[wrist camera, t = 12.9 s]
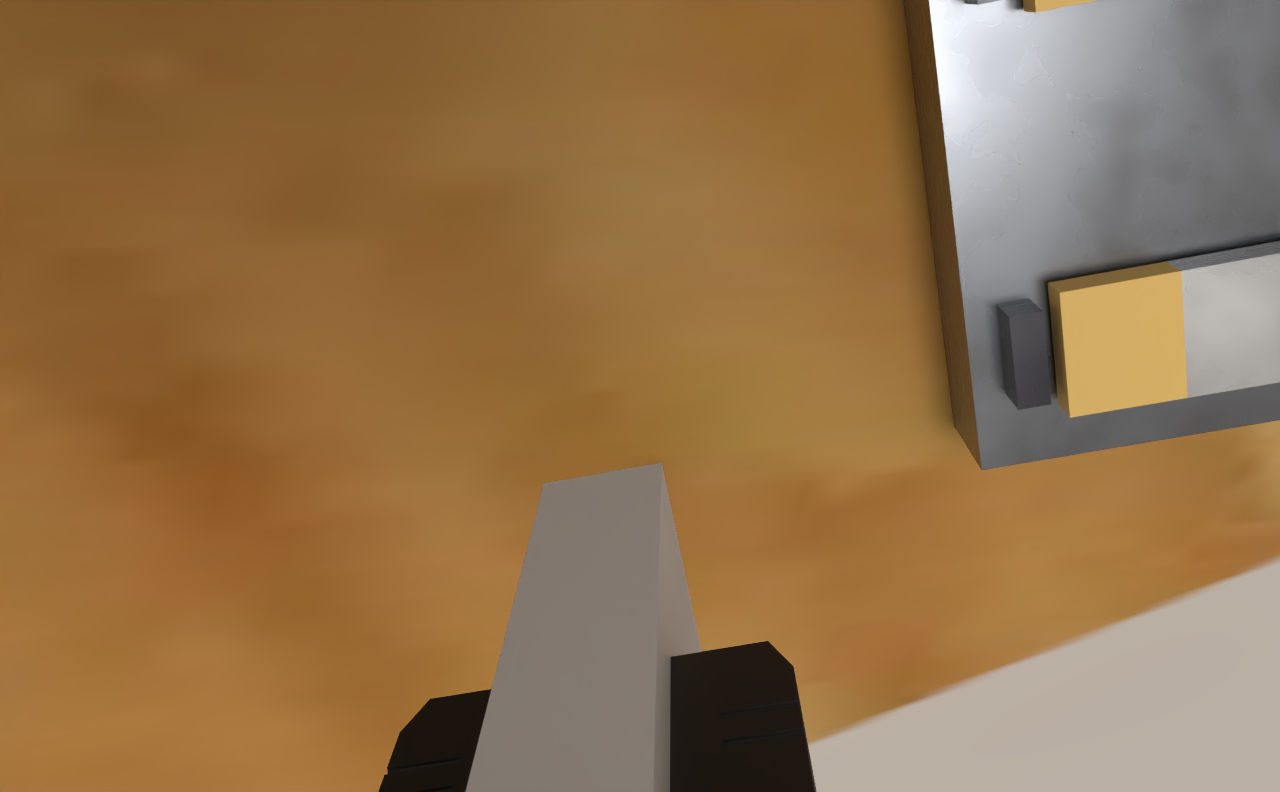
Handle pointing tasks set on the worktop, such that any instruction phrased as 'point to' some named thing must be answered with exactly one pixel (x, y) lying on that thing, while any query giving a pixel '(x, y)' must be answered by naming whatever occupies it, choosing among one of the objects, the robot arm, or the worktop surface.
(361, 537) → the worktop surface
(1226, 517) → the worktop surface
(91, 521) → the worktop surface
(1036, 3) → the strap
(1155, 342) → the strap
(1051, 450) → the clamp block
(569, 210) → the worktop surface
